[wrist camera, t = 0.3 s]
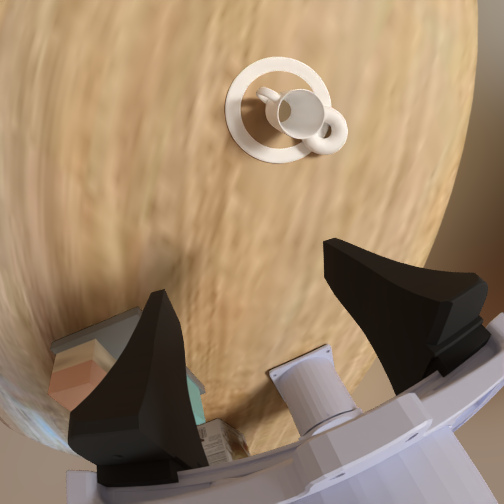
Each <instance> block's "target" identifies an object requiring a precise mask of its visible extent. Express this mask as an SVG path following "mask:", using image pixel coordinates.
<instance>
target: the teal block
mask: <svg viewBox="0 0 504 504" xmlns="http://www.w3.org/2000/svg"><path fill="white" fill-rule="evenodd" d="M187 385H188V391H189V397H190V401H191V405H192V410H193V414H194V417H195V421H196V425H199V424H202V423H205V422H206V421H205V417H204V412H203V407H202V402H201V397H200V392H199V388H198V387H197V386H196V385H195V384H194V383H193V382H192V381H191V380H190V379H189V378H188V377H187Z"/></svg>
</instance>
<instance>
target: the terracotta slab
mask: <svg viewBox="0 0 504 504" xmlns="http://www.w3.org/2000/svg"><path fill="white" fill-rule="evenodd" d="M106 374H107V373H106V372H105V371H104V370H103V369H102V368H101V367H100V366H99V365H98V364H97V363H96V362H95V361H94V360H89V361H86V362H83V363H80V364H77V365H75V366H72V367H69V368H66V369H63V370H60V371H57V372H54V373H52V375H51V380H50V384H49V390H48V395H49V396H50V397H52V398H53V399H54V400H56V401H57V402H58V403H60V404H61V405H62V406H64V407H65V408H66V409H68V410H69V411H70V412H71V411H72V410H73V409H74V408H76V407H77V406H78V405H79V404H80V403H81V402H82V401H83V400H84V399H85V398H86V397H87V396H88V395H89V394H90V393H91V392H92V391H93V390H94V389H95V388H96V387H97V386H98V384H99V383H100V382H101V381H102V380H103V378H104V377H105V376H106Z"/></svg>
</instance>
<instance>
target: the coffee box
mask: <svg viewBox="0 0 504 504" xmlns="http://www.w3.org/2000/svg"><path fill="white" fill-rule="evenodd" d="M197 429H198V432H199V435H200V439H201V442H202V445H203V449H204V451H205V454H206V457H207V460H208V463H209V466H212V465H217V464H222V463H226V462H230V461H234V460H238V459H242V458H246V457H250V453H249V450H248V446H247V443H246V440H245V437H244V435H243V434H242V433H240V432H238V431H237V430H235V429H234V428H232V427H231V426H229V425H228V424H226V423H225V422H223V421H222V420H220V419H215V420H212V421H210V422H207V423H204V424H202V425H199V426H197Z"/></svg>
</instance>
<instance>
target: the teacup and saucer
mask: <svg viewBox="0 0 504 504" xmlns="http://www.w3.org/2000/svg"><path fill="white" fill-rule="evenodd" d="M271 71H287V72H291V73H293V74H296V75H298V76H299V77H301V78H302V79H304V80H305V81H306V82H307V83H308V84H309V85H310V87H311V88H312V90H313V91H314V93H313V92H311V91H309V90H305V89H294V90H288V91H284V92H280V93H276V92H275V91H273V90H271V89H269V88H266V87H260V88H259V89H258V90H257V92H256V95H257V97H258V98H259V99H260V100H261V101H262V102H264V103H265V104H266V108H265V114H266V118H267V120H268V122H269V123H270V124H271V125H272V126H273V127H274V128H275V129H277V130H279V131H280V132H282V133H284V134H286V135H288V136H290V137H293V138H296V139H302V142H301V143H299V144H297V145H295V146H293V147H289V148H284V149H275V148H270V147H266V146H264V145H262V144H260V143H258V142H257V141H256V140H254V139H253V138H252V137H251V136H250V134H249V133H248V132H247V130H246V129H245V127H244V124H243V122H242V118H241V101H242V97H243V94H244V92H245V90H246V89H247V87H248V86H249V85H250V83H251V82H252V81H253V80H255V79H256V78H257V77H259V76H260V75H262V74H265V73H267V72H271ZM282 100H285V101H287V102H288V103H289V105H290V107H291V114H290V117H289V118H288V119H287V120H285V121H283V122H280V121H279V116H278V112H279V107H280V104H281V102H282ZM225 116H226V122H227V126H228V128H229V131H230V133H231V135H232V137H233V138H234V140H235V141H236V143H237V144H238V145H239V146H240V147H241V148H242V149H243V150H244V151H245V152H246V153H248V154H249V155H251V156H252V157H254V158H256V159H259V160H261V161H265V162H269V163H288V162H292V161H296V160H298V159H301V158H303V157H305V156H306V155H308V154H309V153H311V152H314V153H316V154H320V155H329V154H333V153H335V152H337V151H338V150H339V149H341V148H342V146H343V145H344V144H345V142H346V139H347V135H348V128H347V123H346V121H345V119H344V117H343V116H342V115H341V114H340V113H339V112H338V111H337V110H335V109H333V108H331V100H330V96H329V93H328V90H327V88H326V86H325V84H324V82H323V81H322V79H321V78H320V77H319V75H318V74H317V73H316V72H315V71H314V70H312V69H311V68H310V67H309V66H307V65H305V64H304V63H302V62H300V61H297V60H295V59H291V58H286V57H269V58H264V59H261V60H258V61H256V62H254V63H252V64H250V65H249V66H247V67H246V68H245V69H243V70H242V71H241V72H240V73H239V74H238V75H237V77H236V78H235V79H234V81H233V82H232V84H231V86H230V88H229V91H228V94H227V97H226V103H225ZM329 125H330V126H331V130H332V132H331V135H330V136H329V137H328V138H325V139H323V138H324V137H325V135H326V133H327V130H328V128H329Z"/></svg>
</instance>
